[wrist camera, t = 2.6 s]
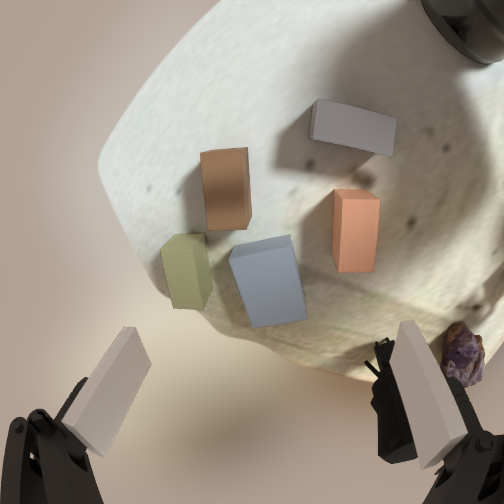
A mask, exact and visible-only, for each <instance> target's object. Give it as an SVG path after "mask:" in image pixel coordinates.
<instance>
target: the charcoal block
mask: <svg viewBox="0 0 504 504" xmlns="http://www.w3.org/2000/svg"><path fill="white" fill-rule="evenodd" d="M396 126H397V118H394V117H391V116H387V115H384V114H381V113H377V112H374V111H370V110H366V109H362V108H358V107H354V106H350V105H346V104H342V103H337V102H332V101H327V100H322V99H317V100H316V101H315V102H314V104H313V106H312V114H311V122H310V129H309V136H308V139H313V140H318V141H324V142H329V143H334V144H339V145H343V146H348V147H352V148H357V149H361V150H365V151H369V152H373V153H377V154H381V155H385V156H389V157H392V152H393V146H394V140H395V133H396Z"/></svg>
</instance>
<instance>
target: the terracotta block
mask: <svg viewBox="0 0 504 504" xmlns="http://www.w3.org/2000/svg"><path fill="white" fill-rule="evenodd" d="M379 214H380V199H379V198H377V197H376V196H375V195H373V194H372V193H370V192H369V191H368V190H349V189H334V212H333V239H332V256H333V259H334V262H335V265H336V268H337V270H338V273H350V272H373V268H374V261H375V253H376V245H377V236H378V226H379Z"/></svg>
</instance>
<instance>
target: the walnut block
mask: <svg viewBox="0 0 504 504" xmlns="http://www.w3.org/2000/svg"><path fill="white" fill-rule="evenodd" d="M200 159H201V170H202V180H203V190H204V200H205V209H206V218H207V226H208V231H212V230H247V227H248V225H249V222H250V220H251V217H252V208H251V192H250V176H249V160H248V147H245V148H230V149H218V150H210V151H206V152H202V153H200Z"/></svg>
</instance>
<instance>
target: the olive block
mask: <svg viewBox="0 0 504 504" xmlns="http://www.w3.org/2000/svg"><path fill="white" fill-rule="evenodd" d="M160 252H161V257H162V262H163V267H164V271H165V276H166V280H167V285H168V289H169V293H170V297H171V301H172V305H173V308H178V309H196V310H204V307H205V305H206V303H207V301H208V298H209V296H210V294H211V292H212V289H213V287H212V281H211V274H210V267H209V260H208V253H207V246H206V238H205V233H192V234H175V235H174V236H173V237H172V238H171V239H170V240H169V241H168V242H167V243H166V244H165V245H164V246H163V247H162V248H161V249H160Z"/></svg>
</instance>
